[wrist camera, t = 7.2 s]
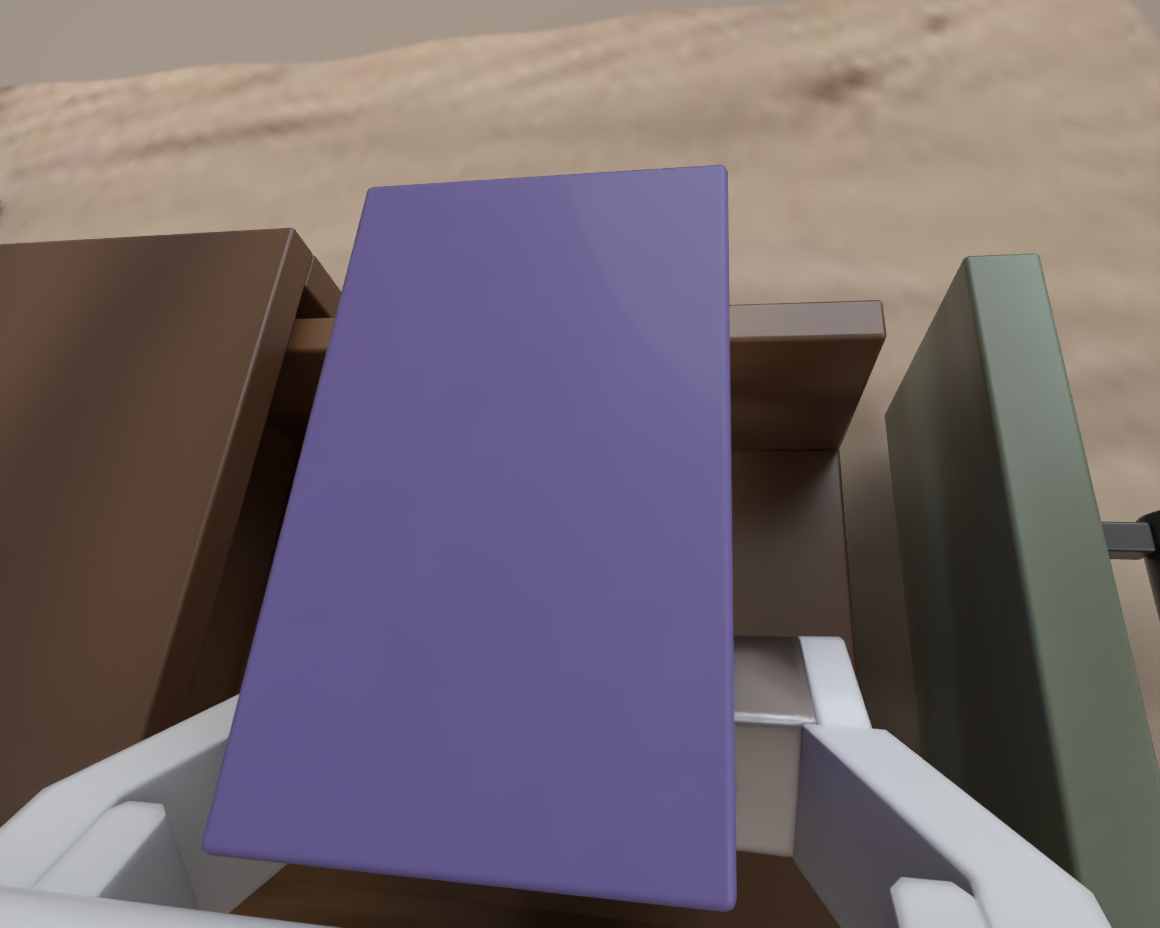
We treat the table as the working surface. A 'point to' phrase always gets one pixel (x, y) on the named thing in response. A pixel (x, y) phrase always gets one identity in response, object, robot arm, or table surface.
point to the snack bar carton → (509, 554)
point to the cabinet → (126, 473)
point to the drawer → (849, 596)
